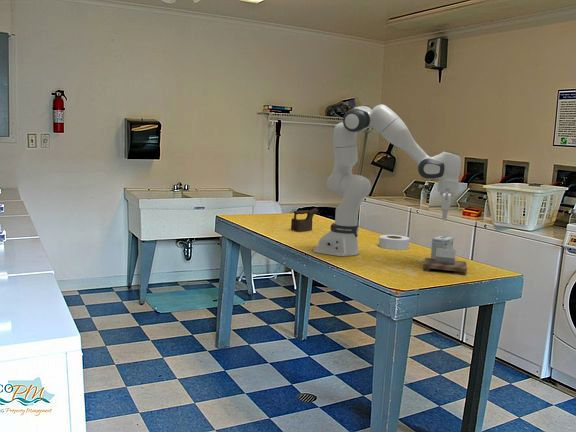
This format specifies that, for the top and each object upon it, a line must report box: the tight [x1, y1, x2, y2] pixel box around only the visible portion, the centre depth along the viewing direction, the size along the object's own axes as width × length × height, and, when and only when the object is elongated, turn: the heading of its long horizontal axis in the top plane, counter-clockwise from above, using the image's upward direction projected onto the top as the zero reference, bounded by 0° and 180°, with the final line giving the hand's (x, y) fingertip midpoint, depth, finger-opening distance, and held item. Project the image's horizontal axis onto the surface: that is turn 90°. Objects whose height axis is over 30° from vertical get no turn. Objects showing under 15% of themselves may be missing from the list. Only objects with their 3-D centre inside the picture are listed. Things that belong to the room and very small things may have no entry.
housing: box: [435, 248, 457, 265], centre depth 237 cm, size 5×8×6 cm, turn 69°
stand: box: [423, 257, 468, 276], centre depth 238 cm, size 18×14×3 cm
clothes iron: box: [290, 207, 319, 233], centre depth 322 cm, size 8×16×13 cm, turn 121°
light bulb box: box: [430, 235, 455, 259], centre depth 258 cm, size 11×7×11 cm, turn 141°
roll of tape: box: [378, 234, 410, 251], centre depth 284 cm, size 16×16×6 cm
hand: (444, 219), depth 239 cm, fingers open, 8 cm apart
